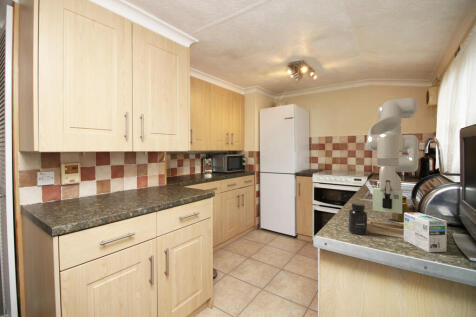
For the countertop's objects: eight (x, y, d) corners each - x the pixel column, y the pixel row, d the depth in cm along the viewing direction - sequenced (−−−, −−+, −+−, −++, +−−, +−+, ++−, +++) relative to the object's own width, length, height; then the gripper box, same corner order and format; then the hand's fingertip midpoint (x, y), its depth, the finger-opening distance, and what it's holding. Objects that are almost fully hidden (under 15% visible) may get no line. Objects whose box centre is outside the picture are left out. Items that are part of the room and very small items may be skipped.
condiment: (410, 221, 107) (411, 196, 106) (403, 224, 102) (403, 198, 101) (393, 217, 113) (394, 194, 112) (385, 220, 108) (386, 196, 108)
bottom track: (367, 226, 99) (367, 220, 99) (406, 232, 92) (406, 225, 92) (366, 231, 93) (366, 224, 93) (408, 238, 86) (408, 231, 86)
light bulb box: (447, 252, 74) (448, 220, 74) (428, 253, 74) (429, 221, 74) (418, 239, 85) (419, 211, 85) (402, 240, 85) (403, 212, 84)
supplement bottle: (360, 236, 88) (360, 206, 88) (344, 231, 94) (345, 203, 94) (370, 233, 91) (371, 204, 91) (355, 228, 97) (355, 201, 97)
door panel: (372, 208, 96) (373, 187, 96) (401, 211, 90) (401, 190, 90) (372, 210, 93) (373, 188, 93) (402, 213, 88) (402, 191, 88)
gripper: (376, 162, 100) (376, 202, 101) (377, 163, 86) (376, 210, 87) (397, 162, 96) (396, 204, 97) (401, 164, 82) (399, 213, 83)
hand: (386, 206), depth 92 cm, fingers closed on door panel, 3 cm apart
